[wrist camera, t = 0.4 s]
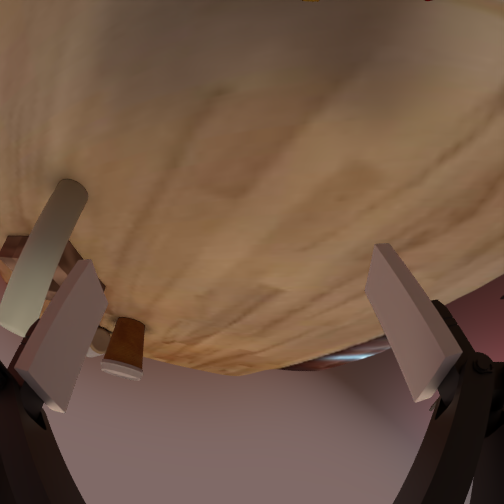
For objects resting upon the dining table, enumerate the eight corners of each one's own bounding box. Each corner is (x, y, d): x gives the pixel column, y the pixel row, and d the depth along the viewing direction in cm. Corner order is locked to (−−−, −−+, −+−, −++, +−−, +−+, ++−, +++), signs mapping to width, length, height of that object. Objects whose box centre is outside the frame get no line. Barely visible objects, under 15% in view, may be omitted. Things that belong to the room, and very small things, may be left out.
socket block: (7, 236, 35) (-3, 256, 33) (65, 236, 34) (54, 261, 32) (48, 280, 47) (42, 298, 44) (105, 286, 46) (99, 307, 44)
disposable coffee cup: (106, 320, 61) (95, 369, 54) (117, 310, 54) (104, 366, 48) (143, 333, 65) (134, 381, 59) (158, 325, 59) (149, 380, 52)
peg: (52, 180, 26) (-13, 316, 17) (79, 177, 26) (12, 324, 17) (67, 205, 29) (14, 334, 20) (93, 204, 29) (40, 342, 20)
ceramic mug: (116, 332, 68) (109, 360, 64) (103, 335, 73) (97, 361, 68) (81, 315, 62) (72, 344, 57) (71, 319, 66) (63, 346, 62)
